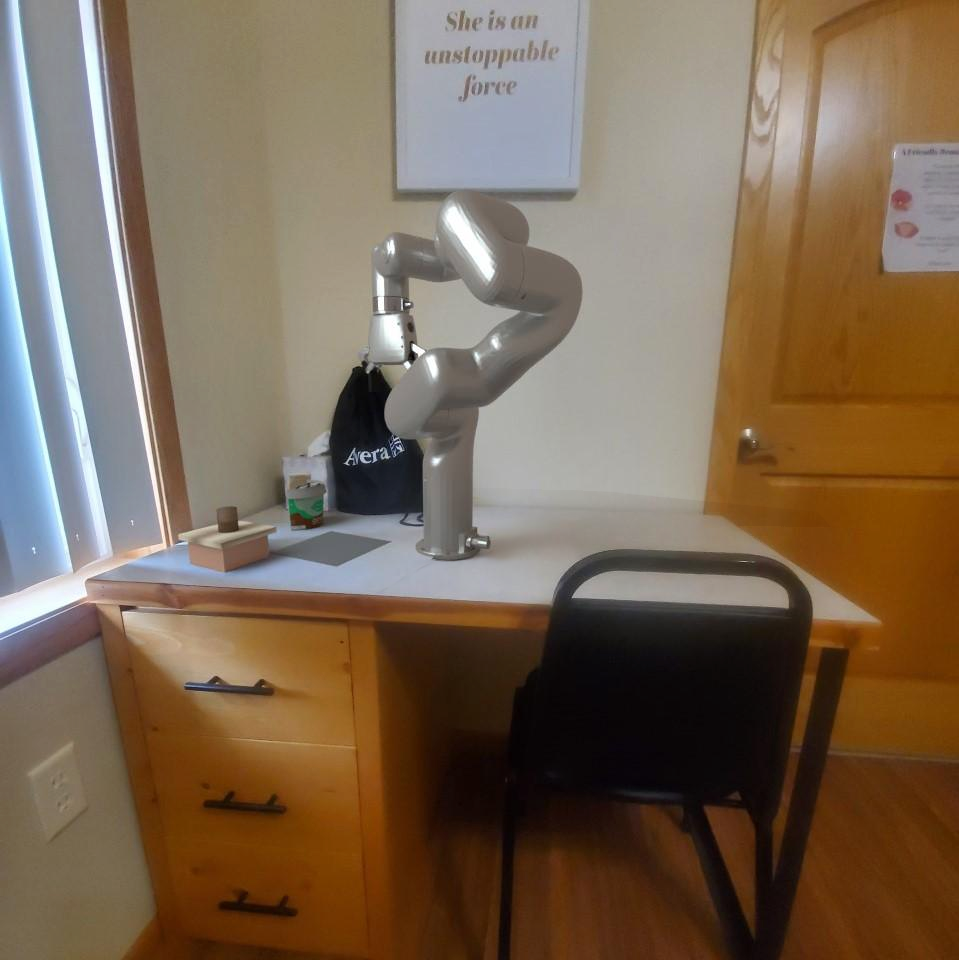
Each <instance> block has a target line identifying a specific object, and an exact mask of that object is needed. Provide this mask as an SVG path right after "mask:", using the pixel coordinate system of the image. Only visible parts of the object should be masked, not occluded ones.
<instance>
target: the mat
mask: <svg viewBox="0 0 959 960" xmlns="http://www.w3.org/2000/svg"><path fill="white" fill-rule="evenodd" d="M389 543H392V541H390V540H386V539H385V540H384V539H380V538H374V537H368V536H362V535H355V534H350V533H346V532H345V533H344V532H338V531H332V530H329V531H327V532H324V533H321V534H318V535H315V536H312V537H310V538H307V539H304V540H301V541H298V542H296V543H292V544H290V545H288V546H284V547H282V548H279V549H275V550H273V551H271V552H270V551H269V554H270V553H271V554H275V555H279V556H283V557H284V556H285V557H289V558H294V559H298V560H303V561H309V562H313V563H319V564H323V565H326V566H327V565H328V566H332V567H339V566H341V565H342V564H345V563H347V562H350V561H352V560H354V559H356V558H358V557H360V556H362V555H365V554H367V553H370V552H372V551H374V550H376V549H379V548H381V547H383V546H385V545H387V544H389Z"/></svg>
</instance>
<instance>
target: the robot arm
mask: <svg viewBox="0 0 959 960" xmlns="http://www.w3.org/2000/svg"><path fill="white" fill-rule="evenodd" d="M529 239H530V227H529V222H528V220H527V218H526V216H525V214H523V212H522V211H521V210H520V209H519V208H518V207H517V206H515V205H513V204H511V203H509V202H507V201H504V200H502V199H498V198H496V197H493V196H490V195H488V194H484V193H482V192H478V191H476V190H473V189H469V188H468V189H466V188H463V189H458V190H455V191H453V192H451V193H450V194H449V195H448V196H447V197H445V199H444V200H443V202H441V203H440V206H439V209H438V211H437V215H436V220H435V232H434V238H433V239H429V238H426V237H422V236H418V235H413V234H408V233H404V232H401V231H400V232H399V231H394V232H391V233H389V234H388V235H386V237H385V238H384V239H383V241H382V242H381V243H380V242H379V243H377V244H375V245H373V247H372V248H371V253H370V257H371V258H370V261H371V263H370V264H371V292H372V295H371V296H372V315H371V316H370V319H369V329H368V340H367V341H368V342H367V347H365V348H363V349H362V350H361V351H359V352H358V353H357V356H358V358H359V361H360V363H361V366H362V367H363V369H365V373H366V374H368V375H367V376H368V380H367V381H368V392H369V393H381V375H380V373H379V371H380V369H381V368H382V367H383V365H384V366H404V367H405V369H407V370H406V371H405V373H404V374H403V375H402V377H401V378H400V379H399V381H397V383H396V384H395V385H394V386H393V388H392V389H391V391H390V392H389V393H388V394H389V395H388V397H387V399H386V401H385V404H384V413H383V414H384V421H385V424H386V427H387V429H388V430H389V431H390V432H391V434H392V435H393V436H395V437H397V438H400V439H402V440H424V439H430V441H429V443H428V445H427V447H426V449H425V451H424V454H423V459H422V506H423V508H422V509H423V510H422V511H423V513H422V516H423V517H422V519H423V522H422V523H423V527H422V528H423V538H422V539H420V540H418V541H417V542H416V543H415V552H417V553H418V554H420V555H422V556H425V557H430V558H431V559H432V560H440V561H451V560H452V561H455V560H462V559H467V558H471V557H473V556H475V555H477V554H479V552H480V551H481V549H482V550H489V549H490V548H491V539H490V536H488V535H480V534H479V533H478V527H477V526H473V523H474V522H473V517H474V515H473V511H474V510H473V509H474V508H473V500H474V498H473V497H474V496H473V492H474V490H473V488H474V484H473V483H474V480H473V479H474V448H475V438H476V433H477V428H478V422H479V415H480V408H484V407H487V406H489V405H491V404H492V403H494V402H496V401H497V400H498V398H500V397H501V396H502V395H503V394H504V393H506V391H507V390H509V389H510V388H511V387H512V386H513V385H514V384H515V383H517V382H518V381H519V380H520V379H521V378H522V377H523V376H524V375H525V374H527V372H528V371H530V369H532V368H533V367H534V366H535V365H537V363H539V362H540V361H541V360H542V359H544V358H545V357H546V356H547V355H549V354H550V353H551V352H552V351H554V350H555V349H556V348H557V347H558V346H559V345H560V344H561V343H562V342H563V341H564V340H565V339H566V337H568V334H569V333H571V330H572V329H573V327H574V325H575V323H576V321H577V319H578V317H579V313H580V312H581V311H580V310H581V306H582V303H583V302H582V301H583V283H582V282H583V281H582V278H581V275H580V273H579V271H578V269H577V268H576V267H575V265H574V264H572V263H571V262H570V261H569V260H567V259H566V258H565V257H562V256H561V255H558V254H556V253H553V252H551V251H547V250H545V249H541V248H537V247H533V246H529V245H528V244H529V241H530V240H529ZM410 279H416V280H422V281H427V282H430V283H431V282H432V283H447V282H451V281H457V280H462V281H463V284H464V285H465V286H466V288H467V289H468V290H469V292H470V293H471V294H472V295H473V296H474V297H475V298H476V299H477V300H479V301H480V302H481V303H483V304H485V305H487V306H490V307H495V308H501V309H506V310H513V311H518V312H517V314H515V315H512V316H511V317H509V318H507V319H505V320H503V321H501V322H500V323H498V324H497V325H496V326H494V327H493V328H492V329H491V330H490V331H489V332H488V333H487V334H486V336H484V337H483V338H482V340H481V341H479V342H478V344H476V345H475V346H473V347H470V348H455V347H454V348H453V347H435V348H430V349H428V350H427V349H425V348H423V347H421V346H419V345H418V338H417V337H418V335H417V331H416V324H415V321H414V320H415V319H414V316H413V315H411V314H410V313H411V312H410V310H411V309H414V306H415V305H414V302H413V301H410V283H409V282H410Z"/></svg>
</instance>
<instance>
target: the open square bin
mask: <svg viewBox="0 0 959 960" xmlns="http://www.w3.org/2000/svg"><path fill="white" fill-rule="evenodd" d="M187 547H188V557H189V564H190V565H194V566H196V567H197V566H198V567H202V568H205V569H210V570H215V571H217V572H222V573H227V572H230V571H232V570H235V569H238V568H240V567H243V566H247V565H249V564H252V563H255V562H257V561H260V560H263V559H266V558H269V557H270V549H269V548H270V546H269V535H266V536H263V537H260V538H256V539H253V540H250V541H247V542H243V543H240V544H237V545H234V546H231V547H227V548H224V549H218V548H213V547H209V546H204V545H200V544H195V543H191V542H187Z"/></svg>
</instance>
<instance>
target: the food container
mask: <svg viewBox="0 0 959 960" xmlns="http://www.w3.org/2000/svg"><path fill="white" fill-rule="evenodd" d="M326 493H328V492H327V486H326V484H325V483H324V481H322V480H317V479H311V480H307V484H305V485H303V486H298V487H297V488H296V489H288V488H286V500H287V505H288V504H289V513H290V518H289V520H290V530H291V531H292V532H293V531H295V532H296V531H307V530H313V529H316V528H319V527H321V526H323V524H324V501H325V499H324V498H325V497H324V495H325V494H326Z"/></svg>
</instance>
